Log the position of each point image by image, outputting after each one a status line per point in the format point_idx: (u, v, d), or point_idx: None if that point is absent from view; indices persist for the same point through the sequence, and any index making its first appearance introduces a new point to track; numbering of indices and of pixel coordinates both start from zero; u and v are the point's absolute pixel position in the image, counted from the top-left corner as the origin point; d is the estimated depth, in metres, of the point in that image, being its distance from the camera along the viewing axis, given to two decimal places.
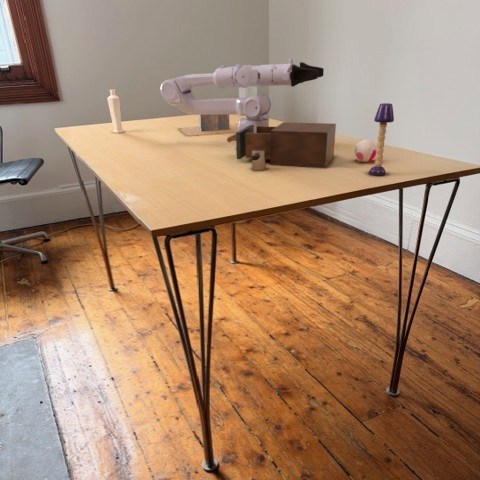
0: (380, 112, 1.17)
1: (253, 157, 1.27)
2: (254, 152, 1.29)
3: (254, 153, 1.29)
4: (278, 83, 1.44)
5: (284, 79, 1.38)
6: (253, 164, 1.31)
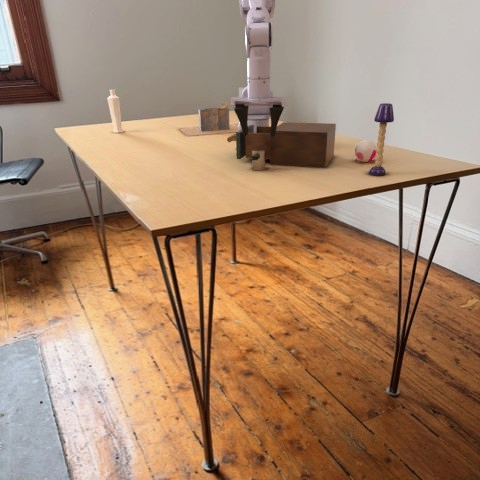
0: (380, 112, 1.17)
1: (253, 157, 1.27)
2: (254, 152, 1.29)
3: (254, 153, 1.29)
4: None
5: None
6: (253, 164, 1.31)
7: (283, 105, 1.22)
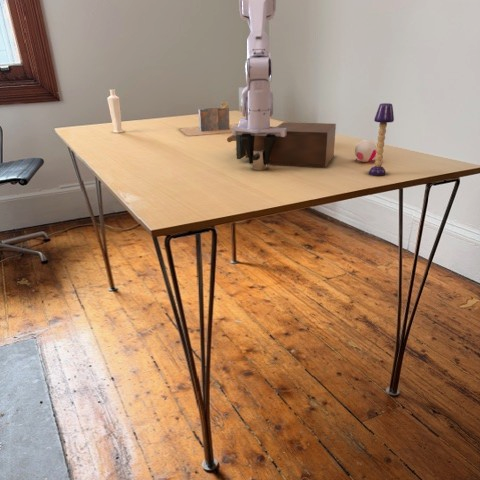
0: (380, 112, 1.17)
1: (253, 157, 1.27)
2: (254, 152, 1.29)
3: (254, 153, 1.29)
4: None
5: None
6: (253, 164, 1.31)
7: (282, 135, 1.26)
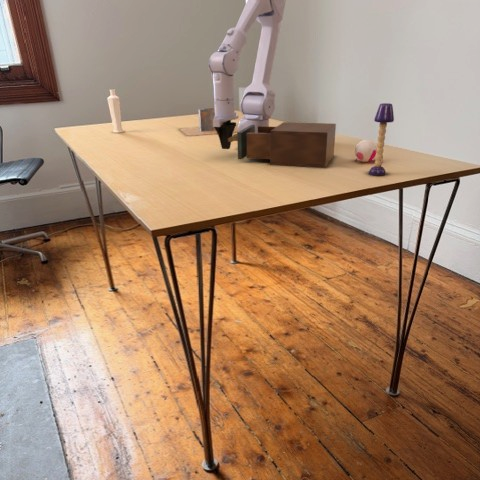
0: (380, 112, 1.17)
1: None
2: None
3: None
4: (215, 105, 1.39)
5: (213, 121, 1.36)
6: None
7: None
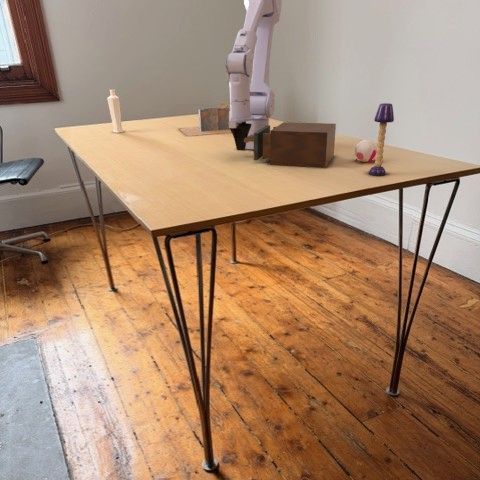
0: (380, 112, 1.17)
1: None
2: None
3: None
4: (230, 106, 1.37)
5: (229, 122, 1.34)
6: None
7: (250, 119, 1.46)
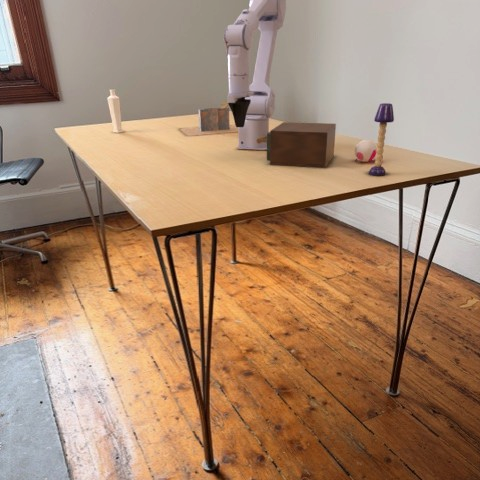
0: (380, 112, 1.17)
1: None
2: None
3: None
4: (229, 81, 1.34)
5: (228, 97, 1.31)
6: None
7: (249, 95, 1.43)
